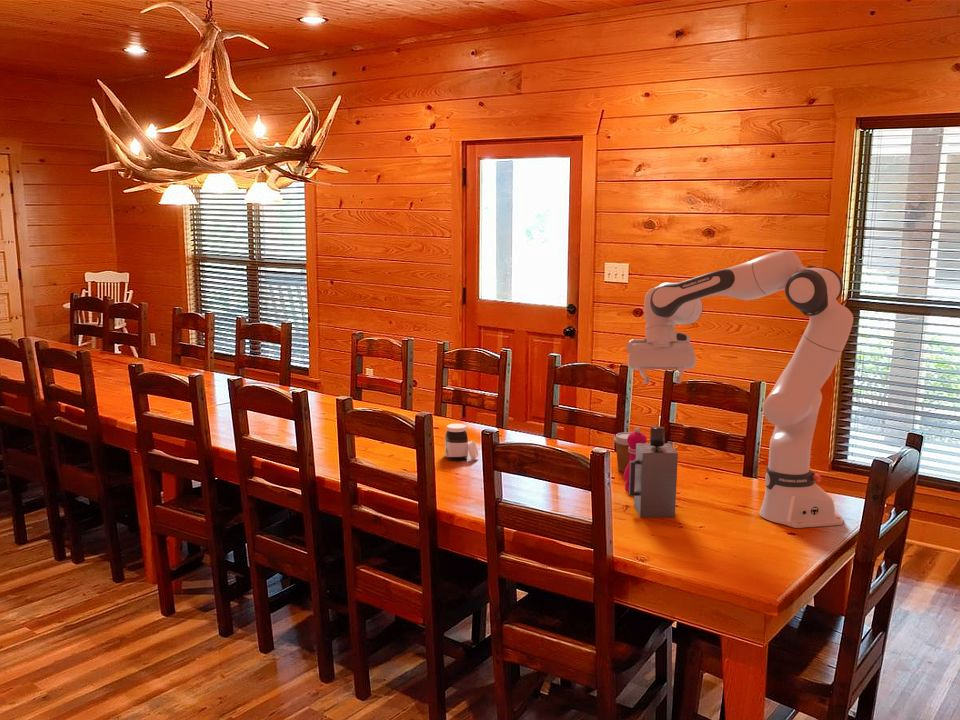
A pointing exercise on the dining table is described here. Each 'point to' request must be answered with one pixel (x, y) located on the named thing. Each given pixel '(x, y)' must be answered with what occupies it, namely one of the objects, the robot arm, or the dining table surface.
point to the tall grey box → (654, 480)
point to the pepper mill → (633, 452)
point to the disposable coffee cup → (622, 450)
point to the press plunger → (657, 436)
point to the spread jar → (459, 443)
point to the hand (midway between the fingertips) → (662, 382)
